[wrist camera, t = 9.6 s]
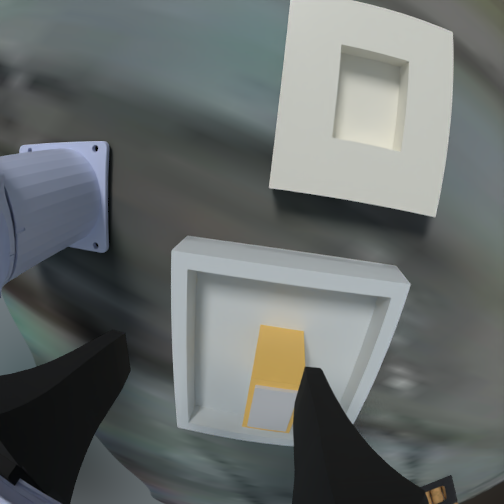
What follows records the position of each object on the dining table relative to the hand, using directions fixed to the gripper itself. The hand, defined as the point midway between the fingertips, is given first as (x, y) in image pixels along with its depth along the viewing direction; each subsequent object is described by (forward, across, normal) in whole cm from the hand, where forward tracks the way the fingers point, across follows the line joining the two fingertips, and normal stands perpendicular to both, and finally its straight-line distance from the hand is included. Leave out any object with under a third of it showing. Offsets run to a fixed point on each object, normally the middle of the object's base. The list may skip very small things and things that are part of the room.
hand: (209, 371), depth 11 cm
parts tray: (+10, -3, +6) cm, 12 cm away
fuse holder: (+10, -6, -12) cm, 17 cm away
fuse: (+9, -3, +6) cm, 11 cm away
